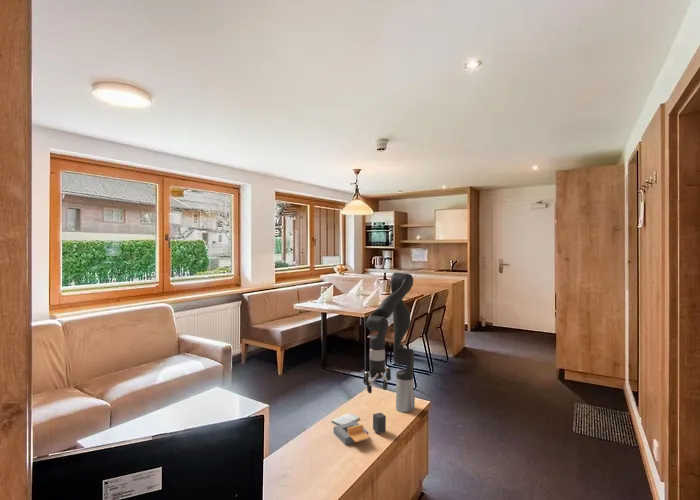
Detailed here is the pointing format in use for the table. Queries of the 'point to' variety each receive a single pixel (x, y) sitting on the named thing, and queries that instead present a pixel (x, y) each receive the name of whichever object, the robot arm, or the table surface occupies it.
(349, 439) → the socket
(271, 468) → the table surface
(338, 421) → the hard drive
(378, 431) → the plug
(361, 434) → the panel
